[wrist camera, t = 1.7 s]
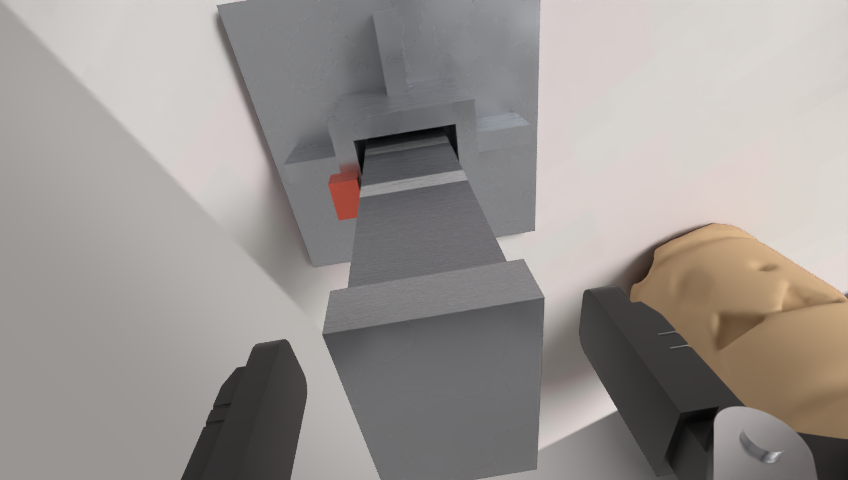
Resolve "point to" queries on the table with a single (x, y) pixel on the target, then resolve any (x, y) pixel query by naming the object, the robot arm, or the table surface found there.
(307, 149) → the stand
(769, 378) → the container
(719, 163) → the table surface
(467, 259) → the column
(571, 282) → the table surface
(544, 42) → the table surface
